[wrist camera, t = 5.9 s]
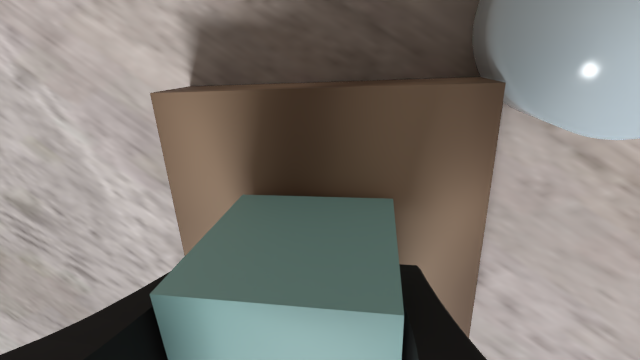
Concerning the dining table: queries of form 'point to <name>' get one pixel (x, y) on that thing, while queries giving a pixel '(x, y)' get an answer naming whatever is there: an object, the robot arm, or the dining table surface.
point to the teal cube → (288, 284)
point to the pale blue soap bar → (565, 61)
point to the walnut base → (345, 160)
